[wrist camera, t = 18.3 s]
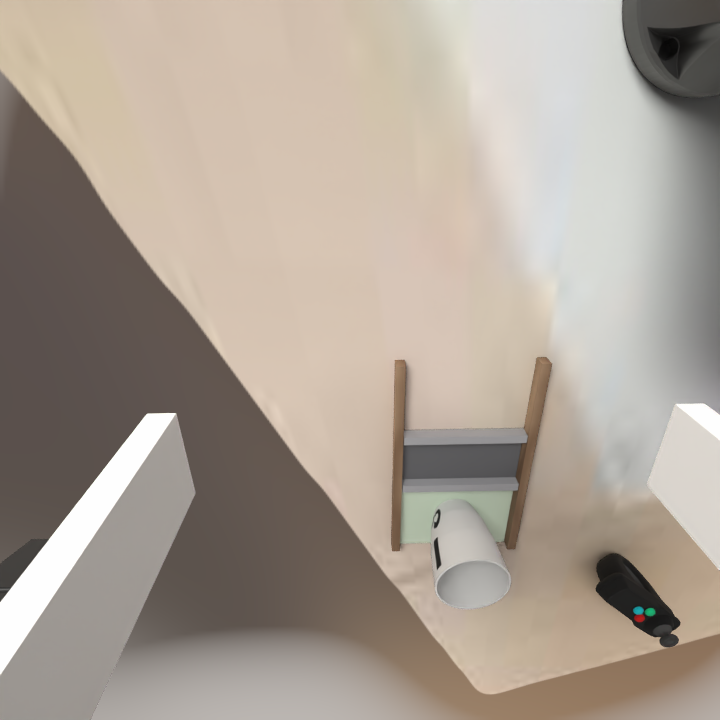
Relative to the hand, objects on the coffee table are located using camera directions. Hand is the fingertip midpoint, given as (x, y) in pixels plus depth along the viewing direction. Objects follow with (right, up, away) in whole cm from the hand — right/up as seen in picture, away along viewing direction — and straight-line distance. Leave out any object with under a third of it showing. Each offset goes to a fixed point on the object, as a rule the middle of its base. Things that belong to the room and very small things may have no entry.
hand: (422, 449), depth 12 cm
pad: (+10, -17, +44) cm, 48 cm away
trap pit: (+10, -9, +40) cm, 42 cm away
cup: (+10, -17, +44) cm, 48 cm away
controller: (+33, -25, +48) cm, 63 cm away
